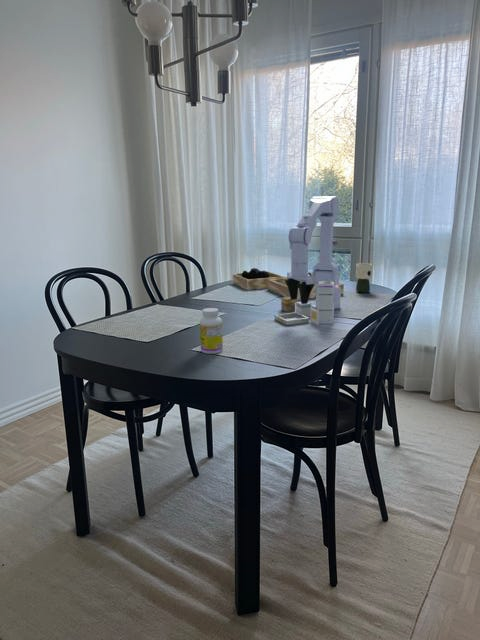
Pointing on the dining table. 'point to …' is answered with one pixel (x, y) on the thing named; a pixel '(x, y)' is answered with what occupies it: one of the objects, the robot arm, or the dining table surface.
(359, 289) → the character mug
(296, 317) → the parts tray
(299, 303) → the grey block
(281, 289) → the oak planter frame
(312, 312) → the label plate
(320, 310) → the syrup box
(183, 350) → the dining table surface
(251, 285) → the shallow wooden crate
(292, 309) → the walnut block
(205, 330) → the supplement bottle
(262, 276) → the film camera
